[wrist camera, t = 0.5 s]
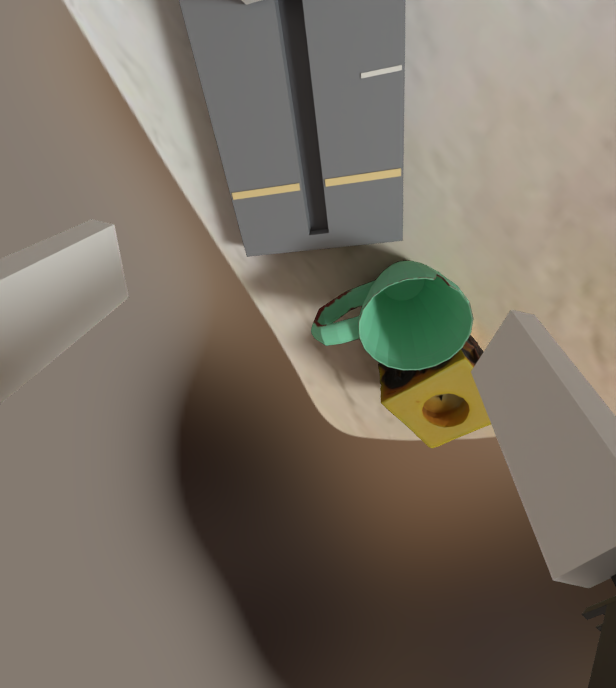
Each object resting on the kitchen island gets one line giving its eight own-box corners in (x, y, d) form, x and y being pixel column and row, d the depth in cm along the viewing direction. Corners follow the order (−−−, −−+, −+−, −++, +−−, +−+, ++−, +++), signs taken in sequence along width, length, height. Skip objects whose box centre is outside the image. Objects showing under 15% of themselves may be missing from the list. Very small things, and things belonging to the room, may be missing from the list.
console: (163, -122, 22) (138, -151, 20) (402, -211, 19) (408, -259, 17) (254, 247, 37) (246, 257, 35) (399, 231, 34) (402, 240, 31)
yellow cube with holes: (444, 302, 38) (466, 354, 30) (489, 355, 41) (520, 415, 33) (374, 347, 43) (377, 402, 35) (420, 391, 46) (431, 451, 38)
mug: (446, 227, 33) (472, 265, 25) (451, 310, 38) (474, 363, 30) (309, 259, 37) (294, 301, 29) (330, 330, 42) (322, 382, 34)
